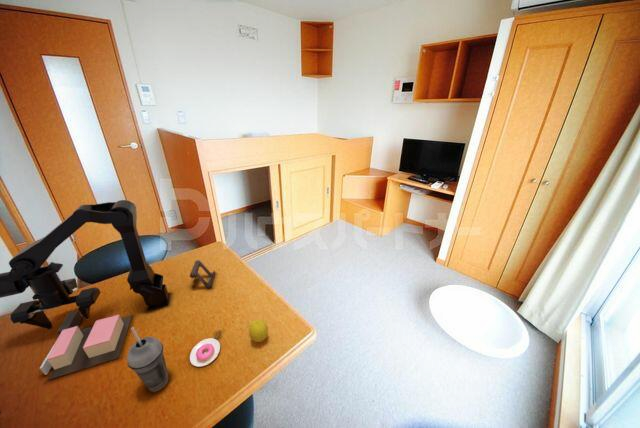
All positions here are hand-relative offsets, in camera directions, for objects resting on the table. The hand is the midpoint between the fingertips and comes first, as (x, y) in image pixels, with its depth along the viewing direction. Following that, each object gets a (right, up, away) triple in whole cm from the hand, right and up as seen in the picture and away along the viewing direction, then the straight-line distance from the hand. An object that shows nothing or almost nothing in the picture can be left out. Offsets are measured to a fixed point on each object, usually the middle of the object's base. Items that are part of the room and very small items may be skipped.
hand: (70, 323), depth 77 cm
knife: (+3, -4, -4) cm, 7 cm away
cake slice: (+7, -5, -7) cm, 11 cm away
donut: (+47, -6, -5) cm, 48 cm away
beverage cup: (+38, -10, -14) cm, 41 cm away
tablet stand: (+33, +7, +21) cm, 40 cm away
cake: (+15, -4, -3) cm, 16 cm away
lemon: (+62, -4, -2) cm, 62 cm away
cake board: (+13, -4, -4) cm, 14 cm away
